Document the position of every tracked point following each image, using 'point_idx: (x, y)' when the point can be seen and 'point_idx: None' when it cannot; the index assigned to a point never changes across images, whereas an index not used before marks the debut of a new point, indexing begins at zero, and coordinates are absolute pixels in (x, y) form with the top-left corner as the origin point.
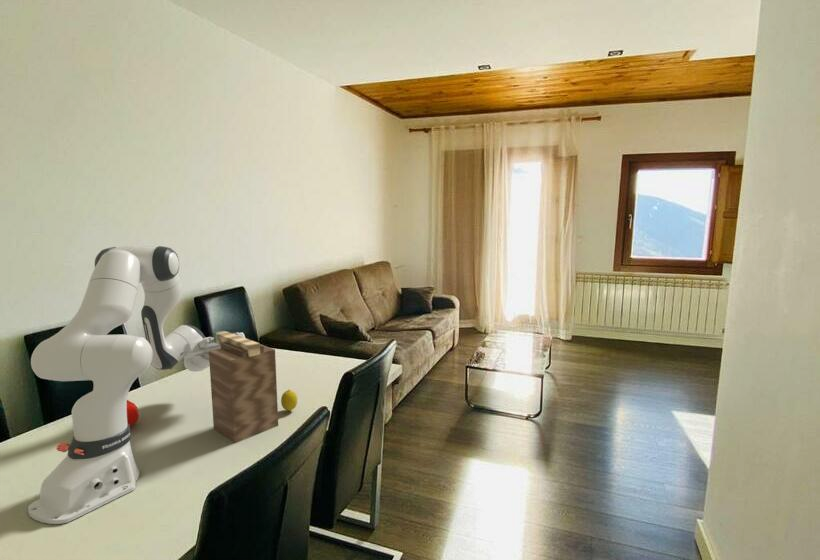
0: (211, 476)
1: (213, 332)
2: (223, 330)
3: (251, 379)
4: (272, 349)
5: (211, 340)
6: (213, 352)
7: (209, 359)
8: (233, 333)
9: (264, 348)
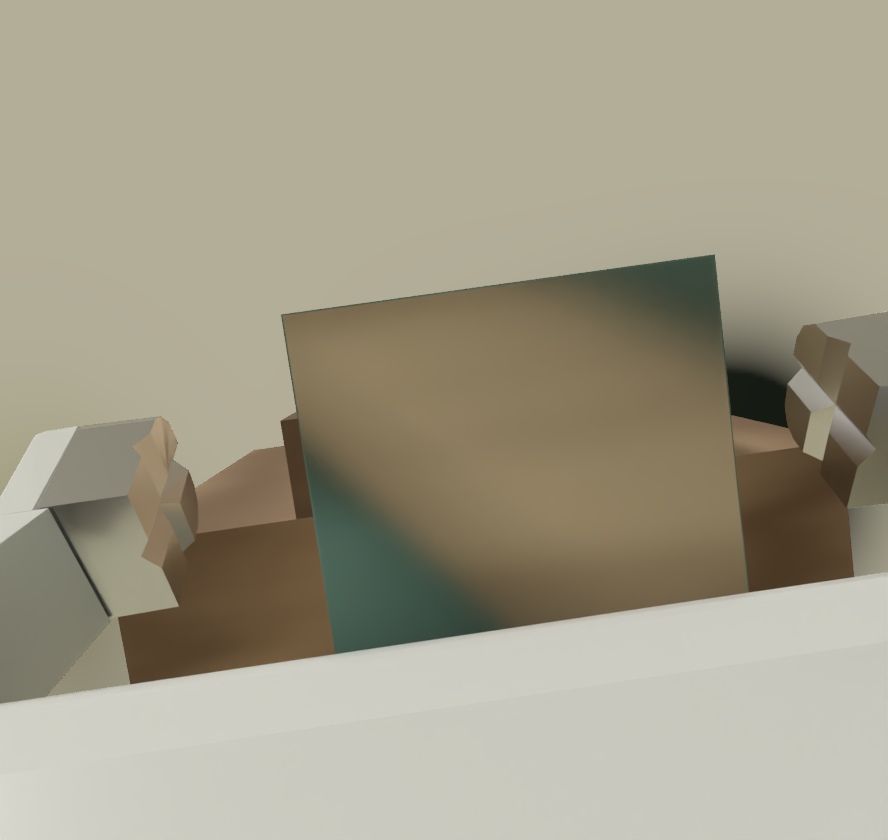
0: None
1: (706, 261)
2: (296, 313)
3: None
4: (263, 451)
5: (796, 385)
6: (768, 431)
7: (848, 562)
8: (132, 452)
9: (280, 457)
